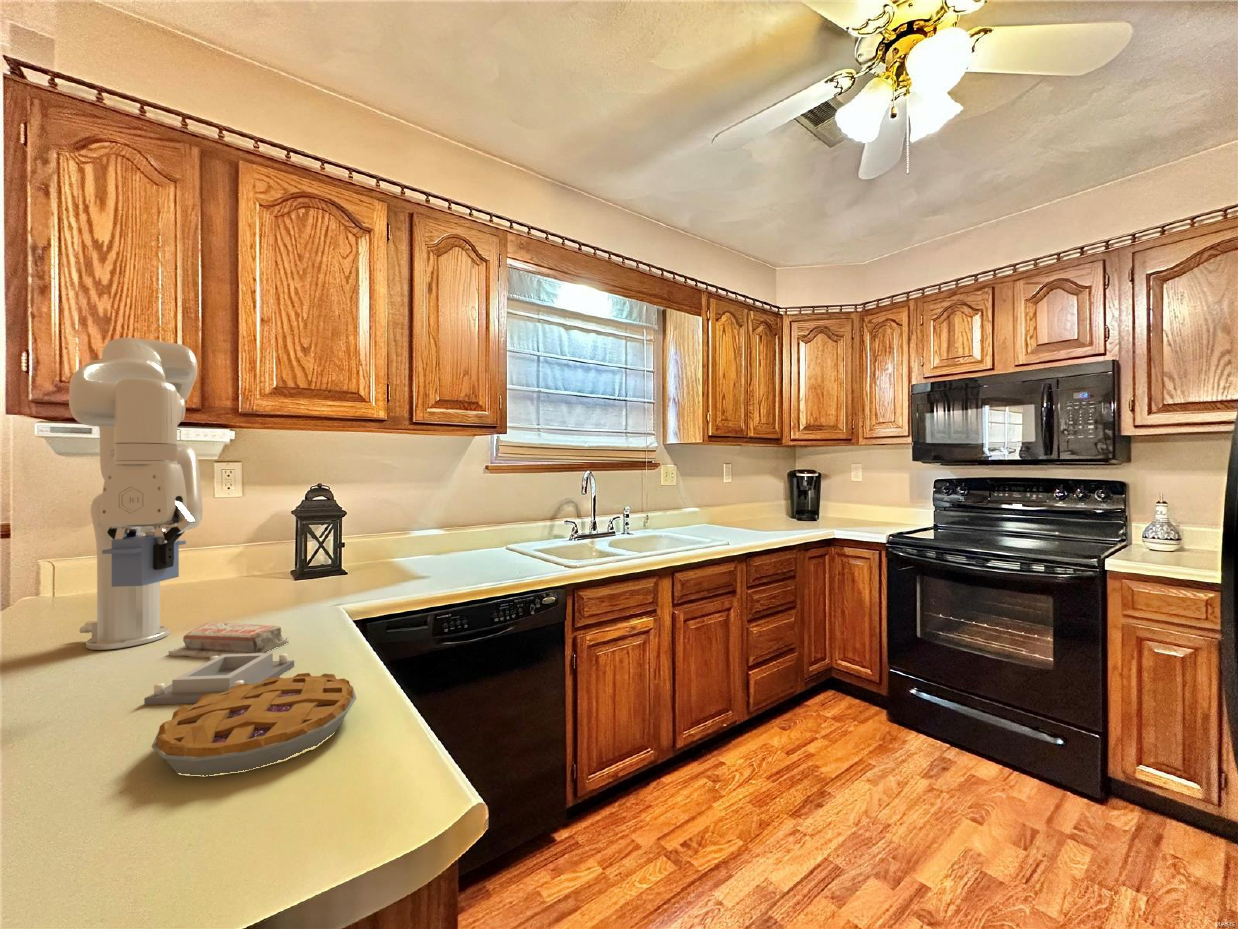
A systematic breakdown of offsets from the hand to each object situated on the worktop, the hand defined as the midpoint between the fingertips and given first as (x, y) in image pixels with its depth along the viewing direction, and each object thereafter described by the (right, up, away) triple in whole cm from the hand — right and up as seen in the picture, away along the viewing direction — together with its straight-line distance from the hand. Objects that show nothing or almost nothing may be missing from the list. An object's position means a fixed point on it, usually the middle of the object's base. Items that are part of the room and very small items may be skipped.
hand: (146, 567), depth 83 cm
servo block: (0, -2, 0) cm, 2 cm away
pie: (+29, -20, -15) cm, 38 cm away
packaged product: (0, -20, +18) cm, 28 cm away
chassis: (+12, -19, +2) cm, 23 cm away
